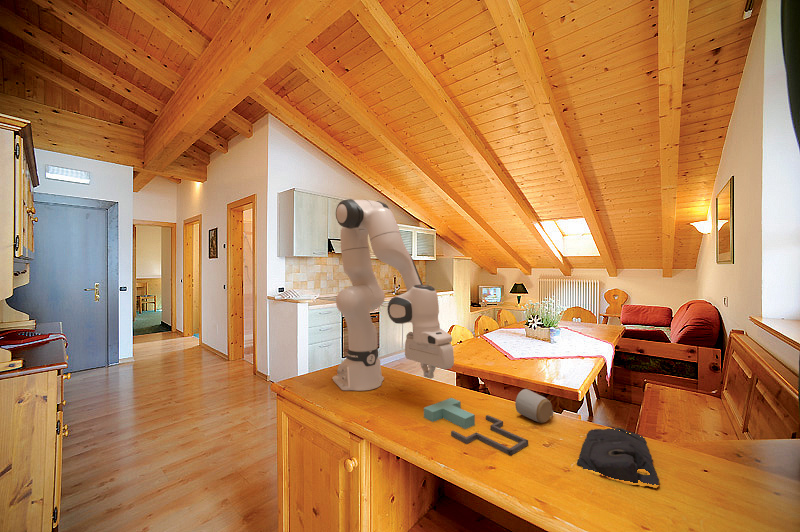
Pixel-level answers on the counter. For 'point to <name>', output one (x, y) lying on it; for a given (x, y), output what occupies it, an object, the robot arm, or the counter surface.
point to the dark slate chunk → (617, 455)
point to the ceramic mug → (533, 406)
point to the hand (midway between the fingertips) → (428, 377)
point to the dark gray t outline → (490, 442)
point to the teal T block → (450, 413)
